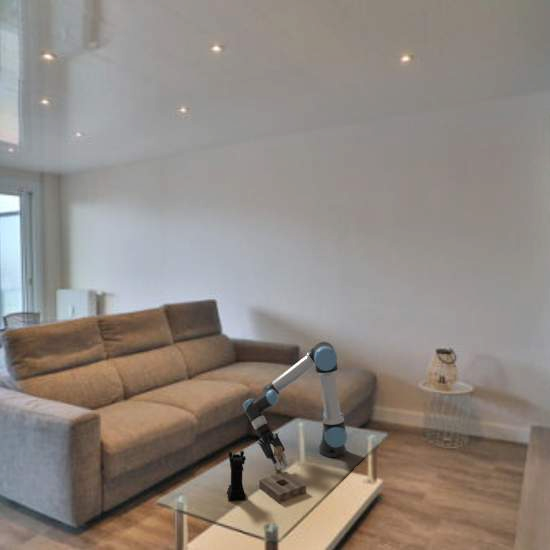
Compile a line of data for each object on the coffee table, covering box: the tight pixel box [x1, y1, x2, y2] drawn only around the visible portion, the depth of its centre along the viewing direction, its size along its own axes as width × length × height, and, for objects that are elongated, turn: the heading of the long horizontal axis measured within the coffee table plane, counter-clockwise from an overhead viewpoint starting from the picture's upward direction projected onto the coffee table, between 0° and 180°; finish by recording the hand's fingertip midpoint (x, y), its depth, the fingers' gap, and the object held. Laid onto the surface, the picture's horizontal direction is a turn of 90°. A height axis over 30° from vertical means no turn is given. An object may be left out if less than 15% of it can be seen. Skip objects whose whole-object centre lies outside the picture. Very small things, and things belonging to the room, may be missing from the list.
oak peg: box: [273, 446, 284, 474], centre depth 246 cm, size 4×4×13 cm
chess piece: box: [226, 450, 247, 502], centre depth 222 cm, size 8×8×20 cm
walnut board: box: [258, 471, 307, 504], centre depth 229 cm, size 16×16×4 cm
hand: (283, 467), depth 244 cm, fingers closed on oak peg, 4 cm apart
